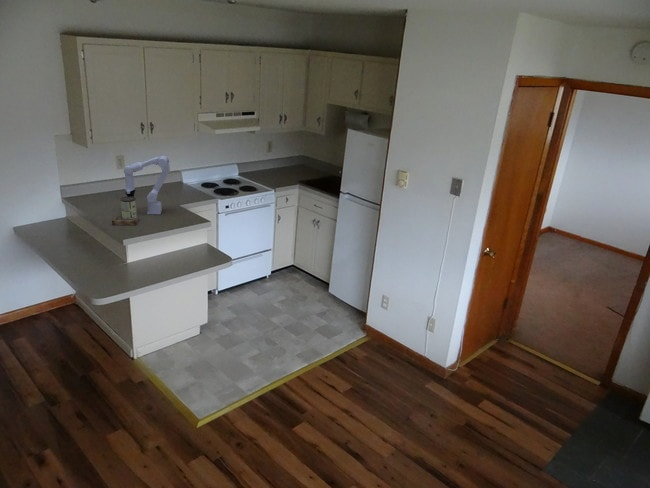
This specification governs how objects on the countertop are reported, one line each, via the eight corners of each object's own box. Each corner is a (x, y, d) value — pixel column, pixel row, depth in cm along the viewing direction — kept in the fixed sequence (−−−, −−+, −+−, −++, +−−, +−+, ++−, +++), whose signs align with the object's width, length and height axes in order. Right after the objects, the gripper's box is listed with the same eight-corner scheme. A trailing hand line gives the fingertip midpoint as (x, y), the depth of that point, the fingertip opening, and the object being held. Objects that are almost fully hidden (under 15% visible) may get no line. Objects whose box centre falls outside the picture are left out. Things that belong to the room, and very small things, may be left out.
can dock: (139, 220, 354) (138, 216, 352) (136, 225, 344) (136, 221, 343) (115, 220, 351) (115, 216, 350) (112, 225, 342) (111, 221, 341)
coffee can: (124, 214, 363) (123, 195, 358) (139, 215, 364) (137, 196, 358) (119, 219, 354) (117, 200, 348) (134, 219, 354) (132, 200, 349)
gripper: (126, 179, 365) (127, 197, 370) (121, 185, 352) (123, 203, 357) (136, 179, 366) (137, 197, 371) (132, 185, 353) (133, 203, 358)
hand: (131, 200), depth 364 cm, fingers open, 4 cm apart
